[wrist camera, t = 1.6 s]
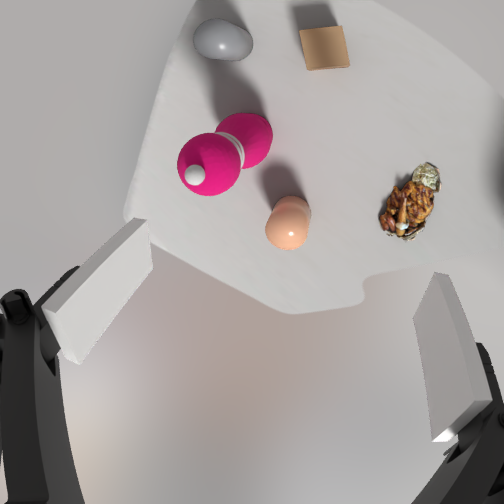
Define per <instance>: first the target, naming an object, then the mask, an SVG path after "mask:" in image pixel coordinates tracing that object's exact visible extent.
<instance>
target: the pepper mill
mask: <svg viewBox="0 0 504 504" xmlns="http://www.w3.org/2000/svg"><path fill="white" fill-rule="evenodd" d="M272 139H273V133H272V128H271V126H270V124H269V123H268V122H267V120H266V119H264V118H263V117H261V116H259V115H257V114H253V113H236V114H233V115H231V116H228V117H227V118H226V119H224V120H223V121H222V122H221V123H220V124H219V125H218V127H217V128H216V131H215V133H204V134H200V135H197V136H195V137H193V138H192V139H190V140H189V141H188V142H187V143H186V144H185V145H184V146H183V148H182V149H181V151H180V153H179V156H178V161H177V169H178V173H179V176H180V178H181V180H182V182H183V183H184V184H185V186H186V187H187V188H189V189H190V190H191V191H193V192H194V193H197V194H199V195H203V196H214V195H218V194H221V193H223V192H225V191H226V190H228V189H229V188H230V187H232V186H233V184H234V183H235V182H236V180H237V178H238V177H239V174H240V170H241V169H246V168H250V167H253V166H255V165H257V164H258V163H260V162H261V161H262V160H263V159H264V158H265V157H266V156H267V154H268V152H269V149H270V146H271V143H272Z"/></svg>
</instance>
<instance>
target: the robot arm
mask: <svg viewBox="0 0 504 504" xmlns="http://www.w3.org/2000/svg"><path fill="white" fill-rule="evenodd" d="M152 269H153V265H152V257H151V248H150V239H149V230H148V220H144V219H138V218H133V219H132V220H131V221H130V222H128V223H127V224H126V225H125V226H124V227H123V228H122V229H121V230H119V231H118V232H117V233H116V234H115V235H114V236H113V237H112V238H110V239H109V240H108V241H107V242H106V243H105V244H104V245H103V246H102V247H101V248H100V249H98V250H97V251H96V252H95V253H94V254H93V255H92V256H91V257H90V258H89V259H88V260H87V261H86V262H85V263H84V264H83V265H82V266H76V267H74V268H73V269H71V270H69V271H67V272H66V273H65V274H64V275H63V276H62V277H61V278H60V280H58V281H57V282H56V283H55V284H54V286H52V287H51V288H50V289H49V290H48V291H47V292H46V293H45V294H44V295H43V296H42V297H41V298H40V299H39V300H38V301H37V302H36V303H35V304H34V305H32V303H31V300H30V298H29V296H28V293H27V292H26V291H25V290H22V289H15V290H12V291H10V292H8V293H6V294H5V295H4V296H3V297H2V298H1V299H0V308H1V310H2V312H3V314H0V464H1V454H2V451H3V462H4V471H5V478H6V485H7V491H8V501H7V502H6V503H5V504H85V502H84V499H83V496H82V492H81V489H80V485H79V481H78V478H77V474H76V469H75V466H74V461H73V457H72V452H71V448H70V442H69V437H68V431H67V426H66V420H65V413H64V406H63V398H62V389H61V380H60V369H59V359H58V356H57V353H58V352H59V350H60V349H61V350H62V352H63V354H64V356H65V358H66V359H68V360H70V361H72V362H74V363H76V364H79V365H80V364H81V363H82V362H83V360H84V359H85V357H86V356H87V355H88V353H89V352H90V350H91V349H92V348H93V346H94V345H95V343H96V342H97V341H98V339H99V338H100V336H101V335H102V334H103V333H104V331H105V330H106V329H107V327H108V326H109V324H110V323H111V322H112V321H113V319H114V318H115V316H116V315H117V314H118V312H119V311H120V310H121V309H122V307H123V306H124V305H125V303H126V302H127V301H128V300H129V298H130V297H131V296H132V294H133V293H134V292H135V291H136V289H137V288H138V287H139V285H140V284H141V283H142V282H143V280H144V279H145V278H146V276H147V275H148V274H149V273H150V272H151V270H152ZM413 321H414V325H415V330H416V334H417V340H418V344H419V350H420V355H421V361H422V367H423V373H424V379H425V385H426V392H427V400H428V407H429V417H430V426H431V437H432V442H438V441H449V440H451V438H453V437H454V436H455V435H456V434H458V440H459V441H458V442H457V443H456V444H455V445H453V446H452V447H451V448H449V449H448V450H447V451H446V452H445V453H444V454H443V455H444V456H445V455H446V454H448V453H449V454H448V455H447V457H446V458H445V460H444V461H443V463H442V465H441V466H440V467H439V469H438V470H437V471H436V473H435V474H434V475H433V477H432V478H431V479H430V481H429V482H428V484H427V485H426V486H425V487H424V489H423V490H422V491H421V493H420V494H419V495H418V496H417V497H416V499H415V500H414V501H413V502H412V503H411V504H504V403H503V400H502V396H501V392H500V389H499V385H498V382H497V379H496V375H495V374H494V369H493V366H491V364H492V363H491V360H490V357H489V354H488V352H487V351H486V349H485V348H484V346H483V345H482V343H475V340H474V337H473V334H472V332H471V329H470V326H469V323H468V321H467V318H466V315H465V313H464V310H463V308H462V305H461V303H460V300H459V298H458V296H457V293H456V291H455V288H454V286H453V284H452V282H451V279H450V277H449V275H446V274H442V273H436V272H434V275H433V277H432V279H431V281H430V283H429V286H428V288H427V290H426V292H425V295H424V296H423V298H422V301H421V303H420V305H419V307H418V309H417V311H416V313H415V315H414V317H413Z"/></svg>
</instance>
